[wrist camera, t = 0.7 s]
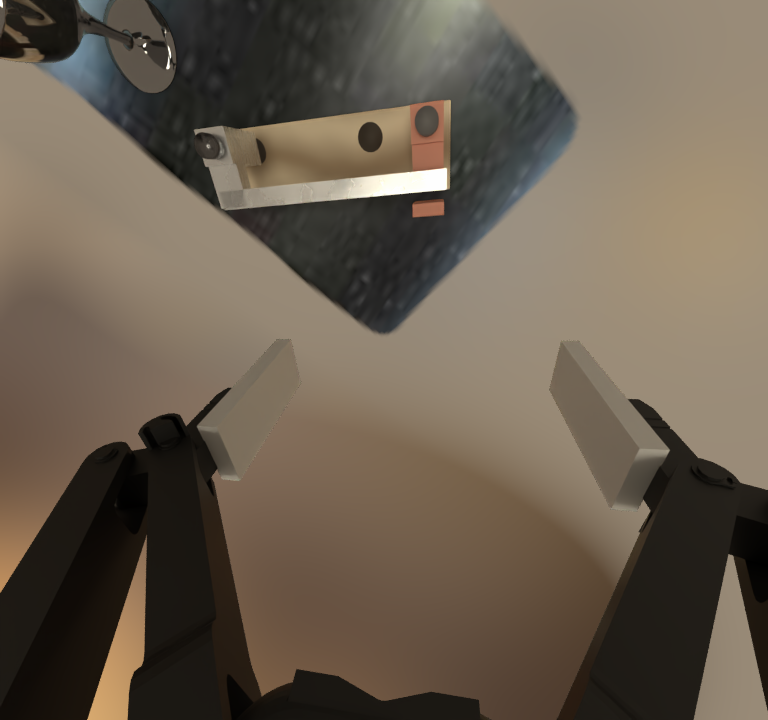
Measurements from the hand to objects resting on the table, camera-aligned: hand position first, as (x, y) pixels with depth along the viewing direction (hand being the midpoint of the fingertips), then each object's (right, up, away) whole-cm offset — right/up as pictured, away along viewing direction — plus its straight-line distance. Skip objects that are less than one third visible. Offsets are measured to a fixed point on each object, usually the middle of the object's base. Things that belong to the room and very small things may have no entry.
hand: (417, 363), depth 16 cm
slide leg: (+3, +19, +15) cm, 24 cm away
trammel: (-6, +20, +16) cm, 26 cm away
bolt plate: (-6, +21, +17) cm, 27 cm away
